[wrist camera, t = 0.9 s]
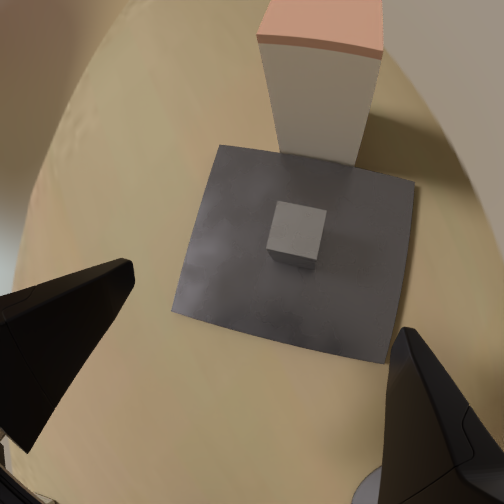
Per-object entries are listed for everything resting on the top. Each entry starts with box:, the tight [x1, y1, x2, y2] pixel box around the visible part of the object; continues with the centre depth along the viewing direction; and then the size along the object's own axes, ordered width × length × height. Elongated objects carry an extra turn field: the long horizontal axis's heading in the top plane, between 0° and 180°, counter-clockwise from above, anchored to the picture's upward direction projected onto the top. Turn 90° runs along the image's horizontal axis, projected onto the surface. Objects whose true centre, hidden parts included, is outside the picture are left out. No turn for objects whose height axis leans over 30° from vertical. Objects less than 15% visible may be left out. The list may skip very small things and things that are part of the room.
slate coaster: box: [351, 465, 382, 504], centre depth 16 cm, size 8×8×1 cm
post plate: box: [171, 145, 415, 364], centre depth 19 cm, size 13×15×5 cm
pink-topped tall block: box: [256, 0, 383, 167], centre depth 17 cm, size 6×6×12 cm
